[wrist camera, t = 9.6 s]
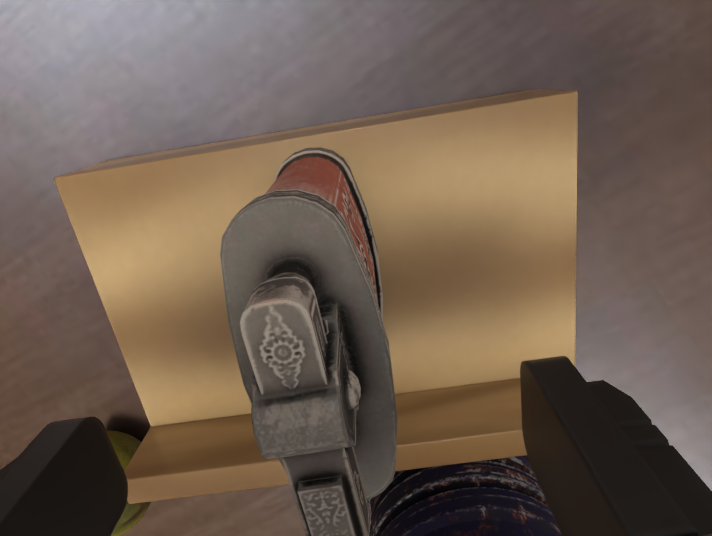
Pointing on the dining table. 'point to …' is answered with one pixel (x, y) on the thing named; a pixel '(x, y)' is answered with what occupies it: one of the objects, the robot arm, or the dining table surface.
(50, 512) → the robot arm
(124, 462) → the lime
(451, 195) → the shelf
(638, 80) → the dining table surface
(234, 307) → the lighter
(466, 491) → the dark blue cylinder
